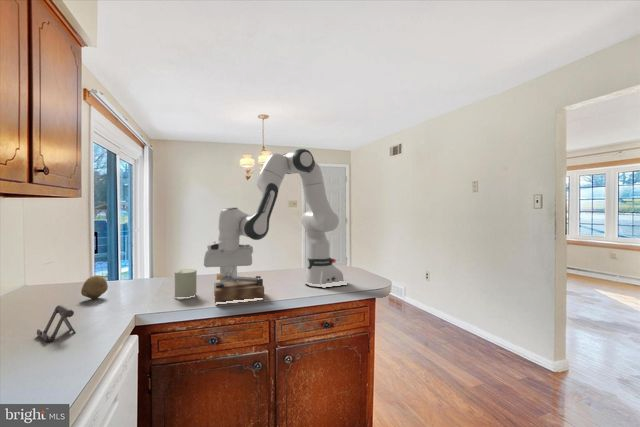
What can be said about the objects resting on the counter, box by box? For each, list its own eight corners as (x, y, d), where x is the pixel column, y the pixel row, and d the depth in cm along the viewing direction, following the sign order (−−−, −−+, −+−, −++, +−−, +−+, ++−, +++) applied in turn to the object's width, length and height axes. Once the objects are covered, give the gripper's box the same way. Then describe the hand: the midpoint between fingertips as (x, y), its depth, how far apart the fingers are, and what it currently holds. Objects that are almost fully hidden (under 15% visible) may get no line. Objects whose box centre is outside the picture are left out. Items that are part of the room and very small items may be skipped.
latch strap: (260, 280, 142) (260, 276, 142) (261, 282, 138) (262, 278, 138) (216, 278, 136) (216, 273, 136) (216, 280, 132) (217, 275, 132)
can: (169, 297, 137) (169, 270, 137) (187, 292, 145) (187, 267, 145) (183, 300, 133) (183, 272, 132) (201, 295, 141) (201, 269, 140)
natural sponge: (113, 296, 137) (113, 274, 137) (93, 303, 128) (93, 279, 128) (97, 295, 139) (97, 273, 139) (77, 300, 131) (77, 277, 130)
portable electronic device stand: (36, 336, 96) (36, 309, 96) (67, 328, 102) (67, 303, 102) (46, 343, 91) (45, 315, 91) (78, 334, 98) (78, 308, 97)
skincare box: (232, 290, 150) (232, 258, 149) (218, 290, 150) (219, 258, 149) (237, 285, 158) (237, 255, 158) (224, 285, 158) (224, 255, 158)
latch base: (258, 292, 147) (258, 274, 147) (264, 300, 134) (264, 281, 134) (214, 295, 140) (214, 277, 140) (215, 305, 127) (215, 284, 127)
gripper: (252, 243, 142) (251, 273, 142) (204, 244, 135) (203, 276, 135) (254, 245, 136) (253, 276, 136) (204, 246, 129) (203, 279, 129)
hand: (228, 276), depth 135 cm, fingers closed
